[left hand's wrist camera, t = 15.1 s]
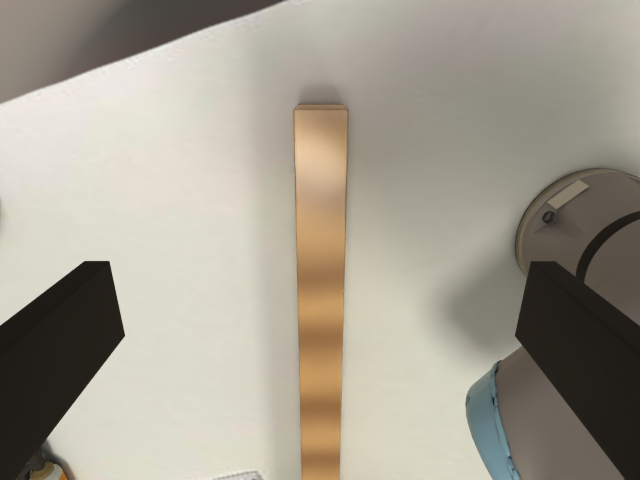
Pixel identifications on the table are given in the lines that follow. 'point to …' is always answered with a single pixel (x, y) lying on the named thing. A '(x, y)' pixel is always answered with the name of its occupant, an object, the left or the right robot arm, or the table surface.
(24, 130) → the table surface
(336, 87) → the table surface
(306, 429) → the beam
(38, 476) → the spray gun
